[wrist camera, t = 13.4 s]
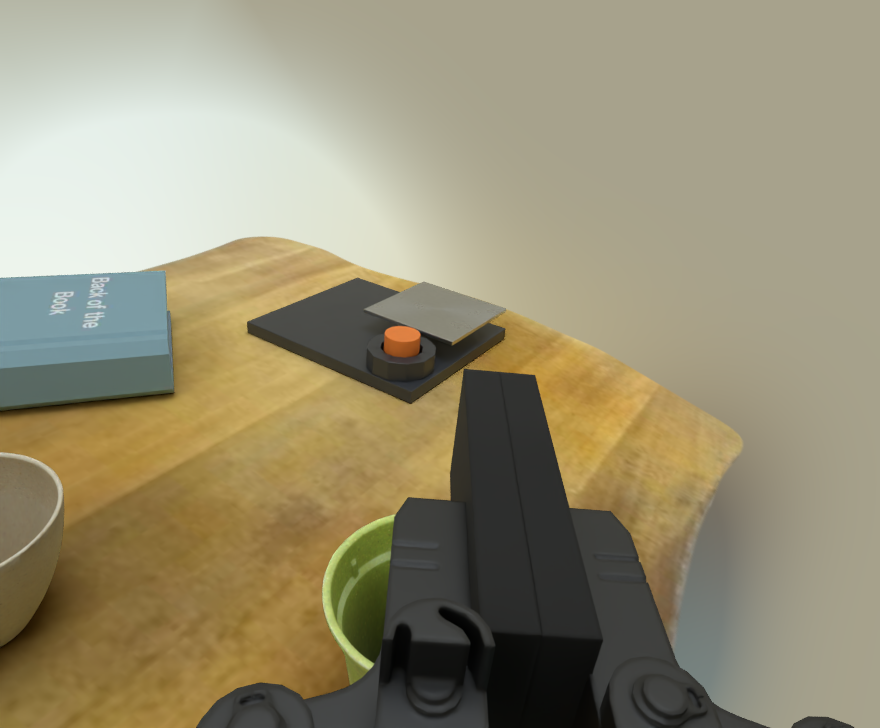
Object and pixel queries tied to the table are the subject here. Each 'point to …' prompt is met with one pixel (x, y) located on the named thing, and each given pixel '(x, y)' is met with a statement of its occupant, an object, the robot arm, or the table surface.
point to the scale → (366, 340)
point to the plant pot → (359, 594)
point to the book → (84, 338)
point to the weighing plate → (436, 312)
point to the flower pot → (27, 538)
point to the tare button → (402, 341)
